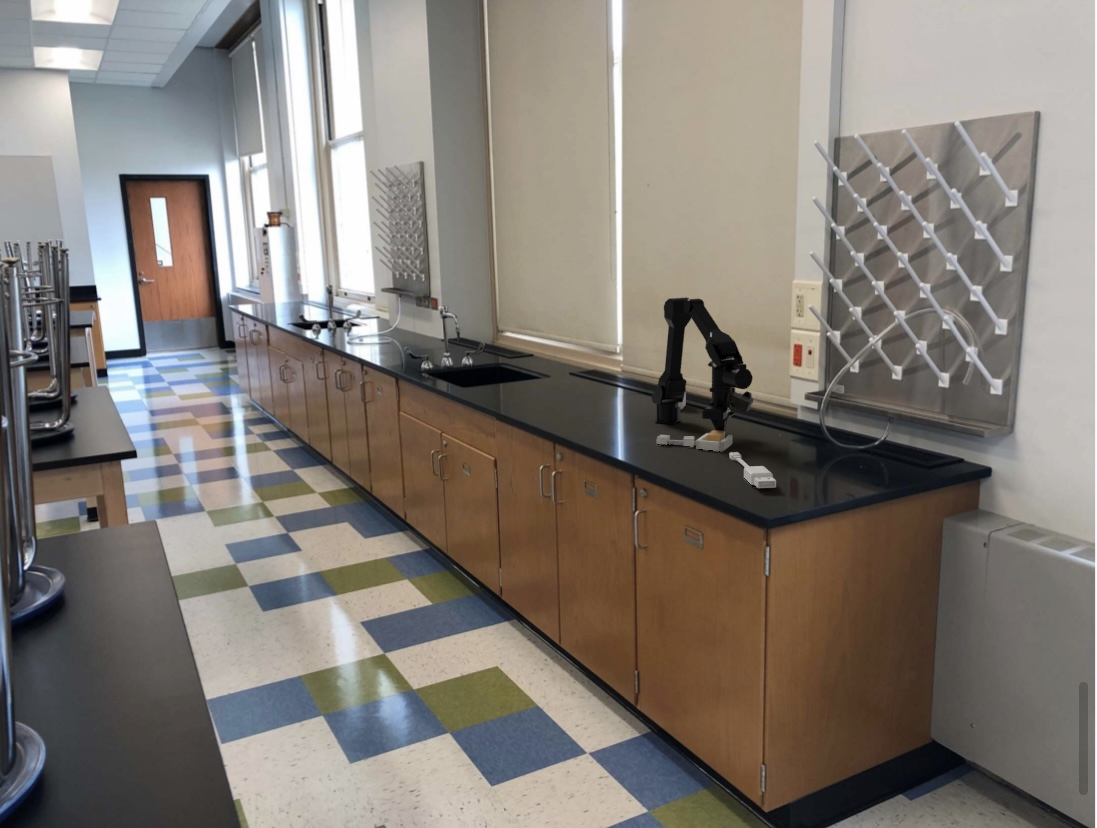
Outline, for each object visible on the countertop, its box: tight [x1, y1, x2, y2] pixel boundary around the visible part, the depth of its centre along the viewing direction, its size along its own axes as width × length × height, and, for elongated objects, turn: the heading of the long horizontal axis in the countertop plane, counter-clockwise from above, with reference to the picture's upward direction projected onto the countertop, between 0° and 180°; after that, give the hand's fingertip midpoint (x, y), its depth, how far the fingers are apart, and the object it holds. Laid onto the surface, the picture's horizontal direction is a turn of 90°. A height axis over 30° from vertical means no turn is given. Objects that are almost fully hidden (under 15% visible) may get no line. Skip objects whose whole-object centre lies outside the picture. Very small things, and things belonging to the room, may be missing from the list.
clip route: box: [655, 434, 696, 448], centre depth 242 cm, size 12×4×2 cm, turn 62°
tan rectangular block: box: [708, 429, 726, 442], centre depth 241 cm, size 4×6×4 cm, turn 155°
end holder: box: [695, 432, 733, 453], centre depth 239 cm, size 8×10×2 cm
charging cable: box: [728, 451, 777, 489], centre depth 213 cm, size 5×32×3 cm, turn 2°
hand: (721, 437), depth 245 cm, fingers closed
